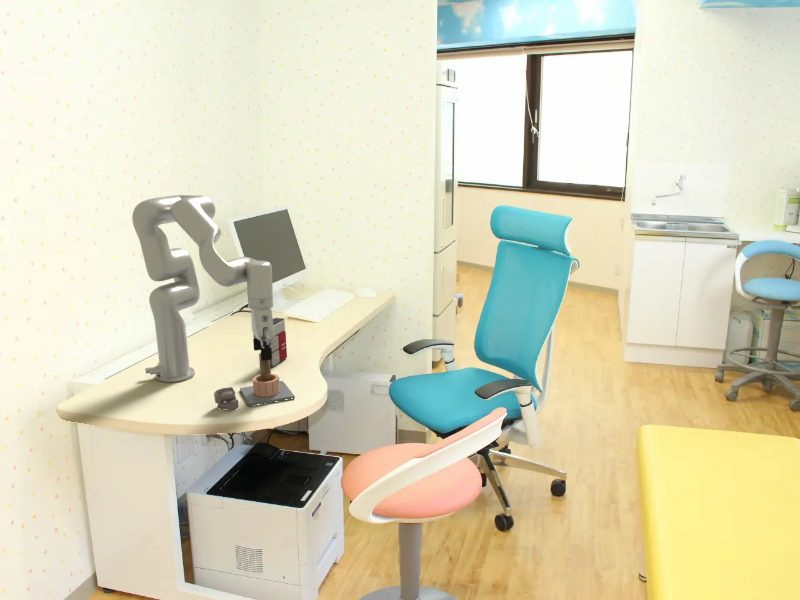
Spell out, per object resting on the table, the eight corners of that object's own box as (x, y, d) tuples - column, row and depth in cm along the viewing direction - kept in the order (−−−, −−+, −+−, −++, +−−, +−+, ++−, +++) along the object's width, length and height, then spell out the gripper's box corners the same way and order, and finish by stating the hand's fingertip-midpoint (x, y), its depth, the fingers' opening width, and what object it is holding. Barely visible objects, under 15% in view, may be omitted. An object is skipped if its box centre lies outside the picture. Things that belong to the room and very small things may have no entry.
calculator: (273, 368, 246) (270, 327, 242) (262, 367, 247) (259, 325, 243) (288, 358, 256) (286, 318, 252) (278, 357, 257) (275, 317, 253)
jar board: (249, 406, 214) (248, 389, 212) (240, 390, 226) (238, 374, 225) (294, 398, 219) (293, 381, 218) (282, 383, 232) (281, 367, 230)
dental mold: (215, 402, 218) (213, 387, 216) (238, 400, 219) (237, 385, 218) (215, 413, 210) (214, 397, 209) (239, 410, 212) (237, 394, 210)
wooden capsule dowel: (262, 392, 220) (260, 356, 217) (260, 389, 223) (258, 353, 220) (272, 390, 222) (270, 354, 219) (270, 387, 224) (268, 351, 221)
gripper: (280, 307, 209) (281, 362, 214) (265, 293, 224) (267, 344, 229) (254, 310, 206) (257, 365, 211) (242, 295, 221) (244, 347, 226)
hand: (262, 354), depth 220 cm, fingers open, 9 cm apart
